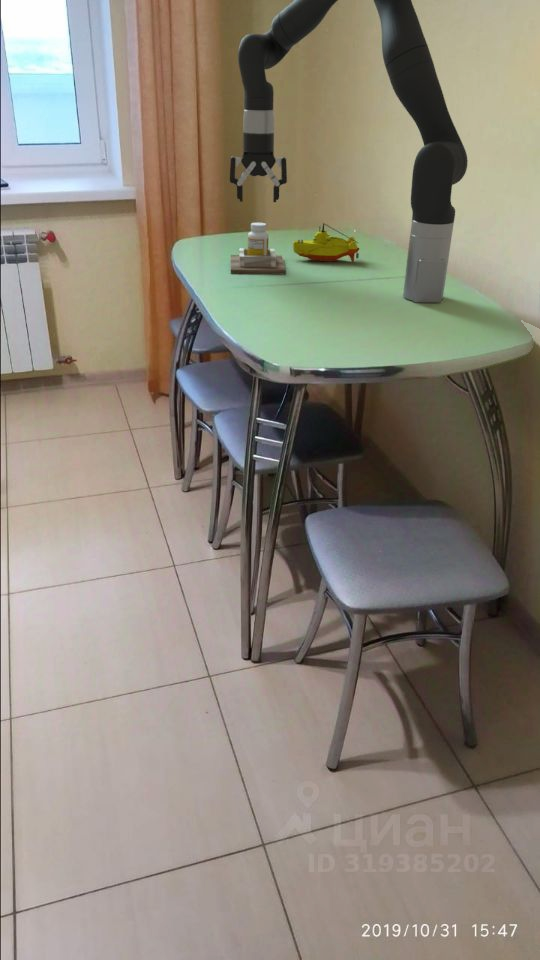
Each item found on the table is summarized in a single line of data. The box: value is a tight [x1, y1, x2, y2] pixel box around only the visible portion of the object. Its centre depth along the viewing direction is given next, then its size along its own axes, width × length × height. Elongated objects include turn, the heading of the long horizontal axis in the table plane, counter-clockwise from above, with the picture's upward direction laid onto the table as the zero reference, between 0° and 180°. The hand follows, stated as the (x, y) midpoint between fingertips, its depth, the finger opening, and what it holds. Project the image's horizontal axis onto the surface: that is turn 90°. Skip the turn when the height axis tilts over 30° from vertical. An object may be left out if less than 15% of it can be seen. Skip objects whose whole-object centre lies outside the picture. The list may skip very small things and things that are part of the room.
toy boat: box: [292, 222, 360, 262], centre depth 195 cm, size 6×18×10 cm, turn 89°
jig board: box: [230, 247, 286, 275], centre depth 190 cm, size 16×14×4 cm
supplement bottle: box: [247, 222, 269, 256], centre depth 188 cm, size 5×5×10 cm
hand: (258, 201), depth 182 cm, fingers open, 8 cm apart
